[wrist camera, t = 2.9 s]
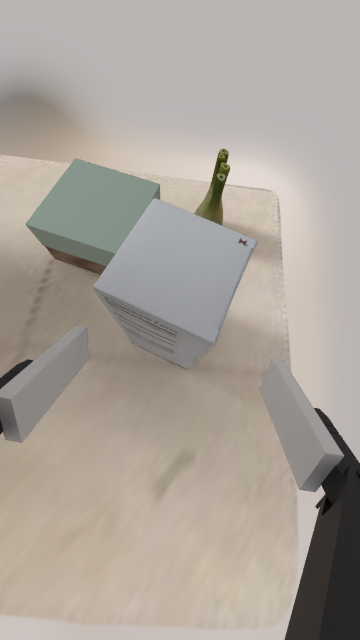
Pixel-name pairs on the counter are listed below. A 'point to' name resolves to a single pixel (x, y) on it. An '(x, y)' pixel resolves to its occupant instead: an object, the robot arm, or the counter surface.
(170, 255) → the supplement box
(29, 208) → the counter surface
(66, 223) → the tower top
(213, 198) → the fennel bulb
